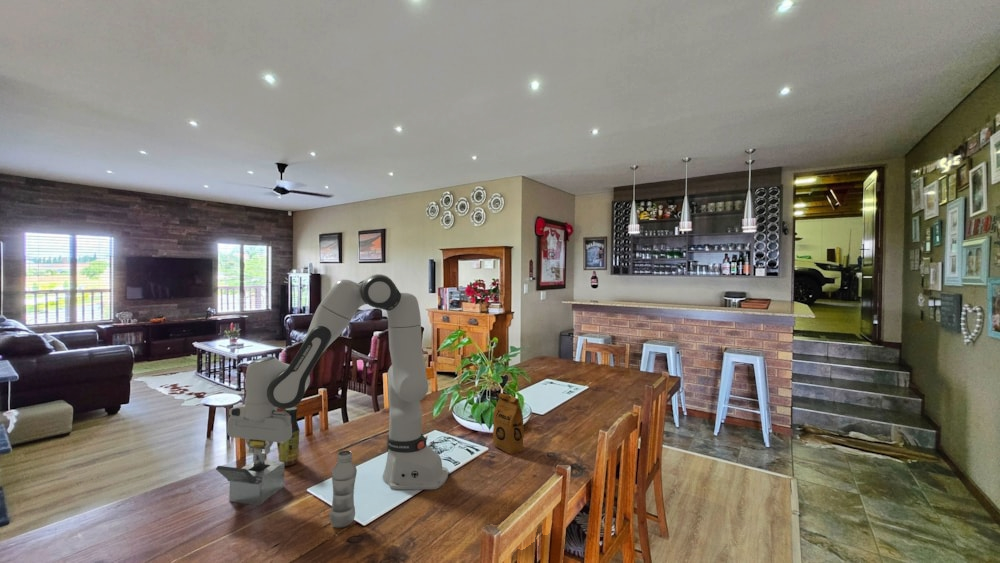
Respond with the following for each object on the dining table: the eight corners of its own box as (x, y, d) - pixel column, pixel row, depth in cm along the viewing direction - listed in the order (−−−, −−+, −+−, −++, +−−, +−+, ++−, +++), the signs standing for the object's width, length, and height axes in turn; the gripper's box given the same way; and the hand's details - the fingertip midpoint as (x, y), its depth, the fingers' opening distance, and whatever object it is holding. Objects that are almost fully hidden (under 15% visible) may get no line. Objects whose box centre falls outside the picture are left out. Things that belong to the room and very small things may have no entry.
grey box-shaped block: (283, 486, 132) (284, 462, 132) (259, 505, 121) (259, 478, 121) (256, 483, 134) (256, 458, 133) (229, 501, 123) (229, 475, 123)
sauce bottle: (290, 468, 144) (291, 412, 144) (274, 465, 146) (276, 410, 145) (302, 459, 151) (304, 406, 151) (287, 457, 152) (289, 405, 152)
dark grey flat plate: (257, 485, 121) (259, 481, 121) (244, 472, 115) (246, 468, 116) (228, 481, 122) (231, 477, 123) (214, 469, 117) (217, 465, 118)
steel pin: (272, 464, 130) (273, 436, 130) (260, 472, 125) (261, 443, 125) (257, 463, 131) (258, 435, 131) (244, 470, 125) (245, 441, 125)
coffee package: (508, 457, 159) (510, 401, 159) (489, 446, 169) (491, 393, 168) (527, 451, 165) (529, 397, 165) (507, 440, 175) (509, 390, 175)
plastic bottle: (333, 517, 117) (335, 448, 116) (357, 517, 117) (359, 448, 117) (326, 531, 110) (328, 458, 110) (351, 531, 111) (353, 458, 110)
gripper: (297, 408, 129) (296, 452, 129) (239, 403, 132) (238, 445, 132) (284, 415, 123) (282, 460, 123) (224, 409, 126) (222, 453, 126)
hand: (259, 452), depth 128 cm, fingers closed on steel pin, 3 cm apart
